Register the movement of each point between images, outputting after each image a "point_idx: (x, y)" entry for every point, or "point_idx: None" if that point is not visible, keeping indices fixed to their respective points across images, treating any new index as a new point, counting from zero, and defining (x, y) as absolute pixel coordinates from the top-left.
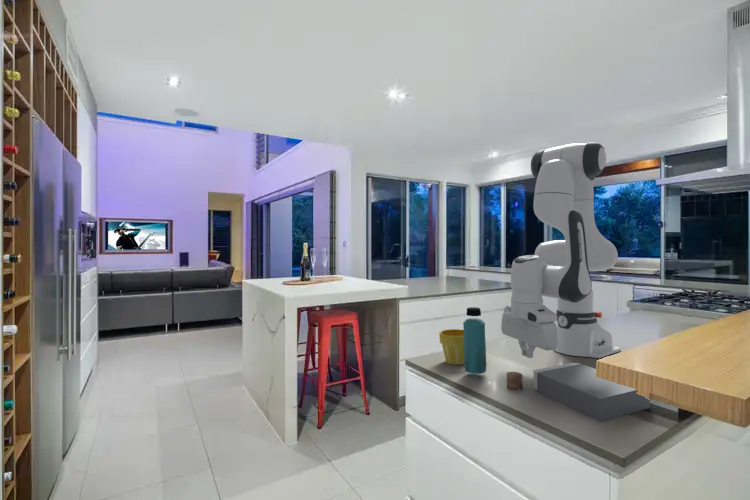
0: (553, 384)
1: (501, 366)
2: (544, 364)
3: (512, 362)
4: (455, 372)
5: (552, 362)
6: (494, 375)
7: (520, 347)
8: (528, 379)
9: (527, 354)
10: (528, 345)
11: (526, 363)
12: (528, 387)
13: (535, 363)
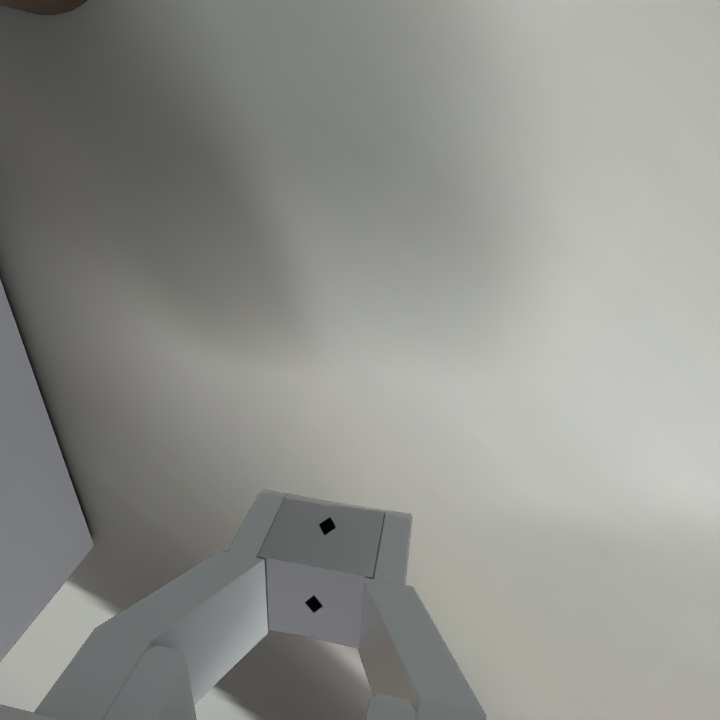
0: None
1: (699, 314)
2: (463, 639)
3: (696, 504)
4: None
5: None
6: None
7: (432, 620)
8: (211, 266)
9: (264, 522)
10: (130, 679)
11: (575, 571)
12: (5, 80)
13: (524, 616)
